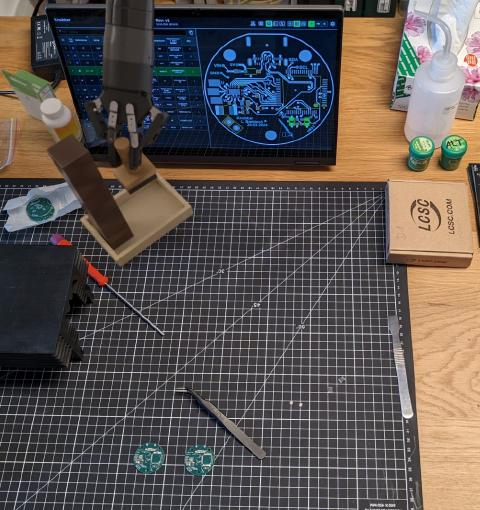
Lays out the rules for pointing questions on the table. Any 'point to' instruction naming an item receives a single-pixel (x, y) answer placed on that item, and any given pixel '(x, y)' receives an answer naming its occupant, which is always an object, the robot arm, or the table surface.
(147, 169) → the wooden stamp
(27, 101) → the ink box
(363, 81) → the table surface
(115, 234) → the dark brown wooden bar
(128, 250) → the tray
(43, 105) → the supplement bottle
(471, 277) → the table surface
